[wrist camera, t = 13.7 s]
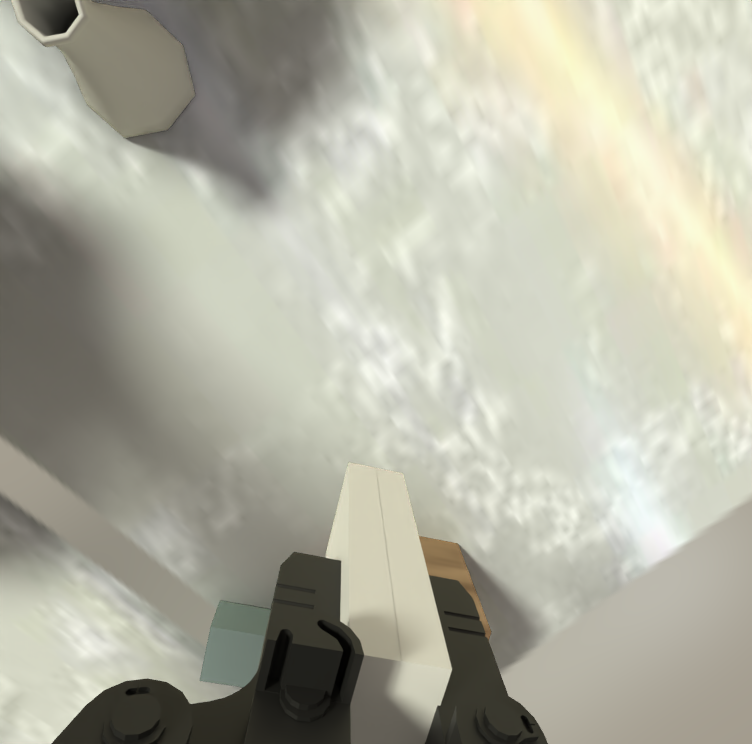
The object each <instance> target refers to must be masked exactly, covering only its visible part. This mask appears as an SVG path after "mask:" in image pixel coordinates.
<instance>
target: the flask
mask: <svg viewBox="0 0 752 744" xmlns="http://www.w3.org/2000/svg"><path fill="white" fill-rule="evenodd" d="M11 2H12V5H13V8H14V11H15V14H16V18H17V21H18V23H19V24H20V25H21V26H22V27H24V28H25V29H26V30H27V31H28V32H29V33H30V34H31V35H32V36H34V37H35V38H36V39H37V40H38V41H39V42H40V43H41V44H42V45H44V46H45V47H51V46H56V47H57V48H58V49H59V50H60V51H61V52H62V54H63V55H64V57H65V59H66V61H67V63H68V65H69V67H70V69H71V71H72V73H73V74H74V76H75V78H76V81H77V83H78V85H79V88H80V90H81V92H82V95H83V97H84V99H85V101H86V103H87V105H88V106H89V107H90V108H91V109H92V110H93V111H95V112H96V113H97V114H98V115H99V116H100V117H101V118H102V119H104V120H105V121H106V122H107V123H108V124H109V125H110V126H111V127H113V128H114V129H115V130H116V131H117V132H118V133H119V134H120V135H122V136H123V137H124V138H128V137H134V136H139V135H144V134H149V133H155V132H160V131H165V130H168V129H169V128H170V127H171V125H172V124H173V123H174V122H175V120H176V119H177V118H178V116H179V115H180V114H181V113H182V111H183V110H184V109H185V108H186V106H187V105H188V104H189V102H190V101H191V100H192V99H193V97H194V96H195V91H194V87H193V83H192V79H191V75H190V71H189V67H188V63H187V59H186V55H185V51H184V46H183V45H182V44H181V43H180V42H179V41H178V40H177V39H176V38H175V37H174V36H173V35H172V34H170V33H169V32H168V31H167V30H166V29H165V28H164V27H163V26H162V25H161V24H160V23H159V22H158V21H157V20H156V19H155V18H154V17H153V16H152V15H151V14H150V13H149V12H147V11H146V10H143V9H136V8H125V7H117V6H112V5H106V4H101V3H96V2H93V1H91V0H11Z"/></svg>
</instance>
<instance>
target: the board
mask: <svg viewBox="0 0 752 744" xmlns="http://www.w3.org/2000/svg"><path fill="white" fill-rule="evenodd" d="M270 611H271V609H266V608H260V607H255V606H249V605H243V604H237V603H231V602H225V601H220V602H219V605H218V608H217V610H216V613H215V616H214V619H213V622H212V625H211V628H210V632H209V637H208V642H207V647H206V652H205V657H204V662H203V667H202V672H201V677H200V681H205V682H211V683H218V684H224V685H231V686H237V687H244V686H246V685H247V684H248V683H249V682H250V681H251V679H252V678H253V677H254V675H255V674H256V673H257V670H258V666H259V661H260V656H261V652H262V647H263V642H264V638H265V633H266V628H267V624H268V620H269V615H270Z"/></svg>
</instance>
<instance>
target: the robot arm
mask: <svg viewBox="0 0 752 744" xmlns="http://www.w3.org/2000/svg"><path fill="white" fill-rule="evenodd" d="M485 634H486V633H485V630H484V627H483V625H482V622H481V621H480V616H479V614H478V611H477V608H476V605H475V602H474V600H473V598H472V597H471V595H470V594H469V593H468V592H467V591H466V589H465V588H464V587H463V586H462V585H461V584H460V582H459V581H458V580H453V579H447V578H442V577H437V576H431V575H428V571H427V567H426V563H425V559H424V555H423V551H422V547H421V543H420V539H419V535H418V531H417V527H416V523H415V519H414V515H413V511H412V507H411V503H410V499H409V495H408V491H407V487H406V483H405V479H404V475H403V473H398V472H394V471H389V470H384V469H379V468H374V467H369V466H365V465H360V464H355V463H350V462H348V466H347V470H346V474H345V478H344V482H343V486H342V490H341V494H340V498H339V502H338V506H337V510H336V514H335V518H334V522H333V526H332V530H331V534H330V538H329V542H328V546H327V550H326V558H324V557H319V556H313V555H308V554H302V553H297V552H294V553H293V554H292V555H291V556H290V557H289V558H288V559H287V560H286V561H285V562H284V563H283V564H282V565H281V567H280V572H279V576H278V580H277V585H276V589H275V593H274V598H273V602H272V607H271V611H270V615H269V620H268V624H267V628H266V633H265V638H264V642H263V647H262V652H261V656H260V661H259V666H258V670H257V673H256V674H255V675H254V677H253V678H252V679H251V681H250V682H249V683H248V684H247V685H246V686H244V687H243V688H242V689H241V690H239V691H238V692H236V693H234V694H232V695H230V696H228V697H226V698H222V699H218V700H214V701H210V702H203V703H196V704H189V702H188V700H187V699H186V697H185V696H184V694H183V692H181V691H180V690H178V689H177V688H175V687H173V686H172V685H170V684H169V683H167V682H162V681H157V680H152V679H140V680H132V681H125V682H123V683H121V684H118V685H116V686H113V687H111V688H109V689H106V690H104V691H103V692H102V693H101V694H99V695H98V696H97V697H96V698H94V699H93V700H92V701H91V702H90V703H88V704H87V705H86V706H85V707H84V708H83V709H82V710H81V712H80V713H79V714H78V715H77V716H76V717H75V718H74V719H73V720H72V722H71V723H70V724H69V725H68V726H67V727H66V728H65V729H64V730H63V732H62V733H61V734H60V735H59V736H58V737H57V738H56V739H55V740H54V742H53V743H52V744H548V743H547V741H546V738H545V736H544V734H543V732H542V730H541V729H540V727H539V725H538V723H537V722H536V720H535V718H534V717H533V716H532V715H531V714H530V713H529V712H528V711H527V710H526V709H525V708H524V707H523V706H522V705H521V704H520V703H518V702H517V701H515V700H514V699H512V698H510V697H509V696H508V694H507V691H506V688H505V685H504V683H503V680H502V677H501V674H500V672H499V669H498V666H497V663H496V661H495V658H494V655H493V652H492V649H491V647H490V644H489V641H488V638H487V637H485Z"/></svg>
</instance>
